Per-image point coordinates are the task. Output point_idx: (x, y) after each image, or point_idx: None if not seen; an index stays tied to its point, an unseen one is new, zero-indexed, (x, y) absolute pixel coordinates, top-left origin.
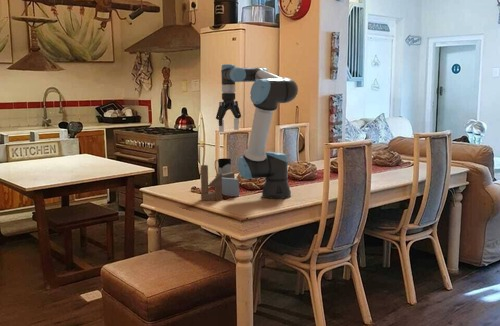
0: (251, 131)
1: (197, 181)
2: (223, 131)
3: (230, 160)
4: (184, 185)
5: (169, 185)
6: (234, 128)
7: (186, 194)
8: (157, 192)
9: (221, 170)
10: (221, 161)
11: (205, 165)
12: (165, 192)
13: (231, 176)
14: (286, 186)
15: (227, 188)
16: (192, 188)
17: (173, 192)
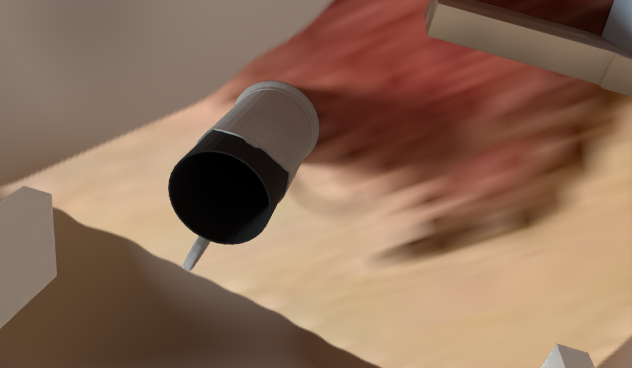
0: None
1: (260, 283)
2: (576, 355)
3: (211, 146)
4: (378, 306)
5: (399, 362)
6: (36, 283)
7: (624, 221)
8: None
9: (294, 169)
10: (274, 201)
11: None
12: (579, 330)
13: (477, 11)
14: None
15: None
16: (445, 247)
17: (574, 297)
